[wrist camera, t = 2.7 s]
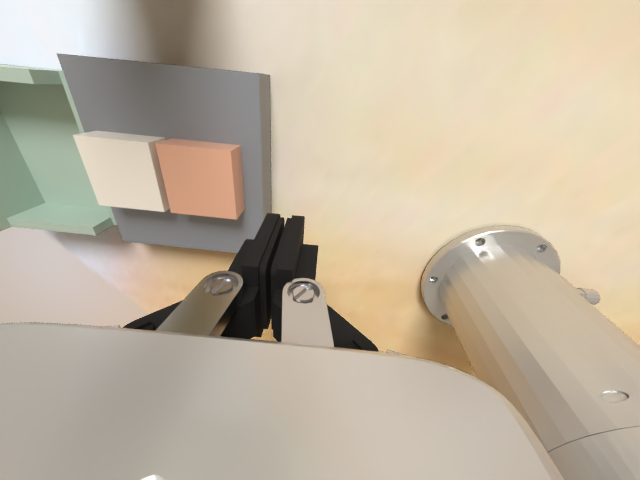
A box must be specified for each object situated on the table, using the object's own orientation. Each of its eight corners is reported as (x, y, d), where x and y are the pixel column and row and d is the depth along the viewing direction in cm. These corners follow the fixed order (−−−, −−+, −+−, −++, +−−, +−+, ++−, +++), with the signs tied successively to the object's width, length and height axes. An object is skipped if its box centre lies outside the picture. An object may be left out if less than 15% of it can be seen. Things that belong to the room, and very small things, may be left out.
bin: (93, 73, 20) (24, 69, 15) (136, 216, 26) (95, 242, 22) (-24, 61, 20) (-125, 54, 16) (47, 207, 26) (-12, 231, 22)
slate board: (269, 75, 19) (259, 73, 16) (271, 239, 26) (264, 256, 24) (94, 58, 19) (56, 53, 17) (143, 226, 26) (122, 241, 24)
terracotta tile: (240, 145, 19) (230, 151, 17) (244, 208, 21) (236, 219, 20) (172, 138, 19) (155, 143, 17) (184, 202, 21) (170, 212, 20)
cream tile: (165, 137, 19) (147, 142, 17) (178, 201, 21) (164, 212, 20) (96, 130, 19) (72, 134, 17) (118, 195, 21) (98, 205, 20)
